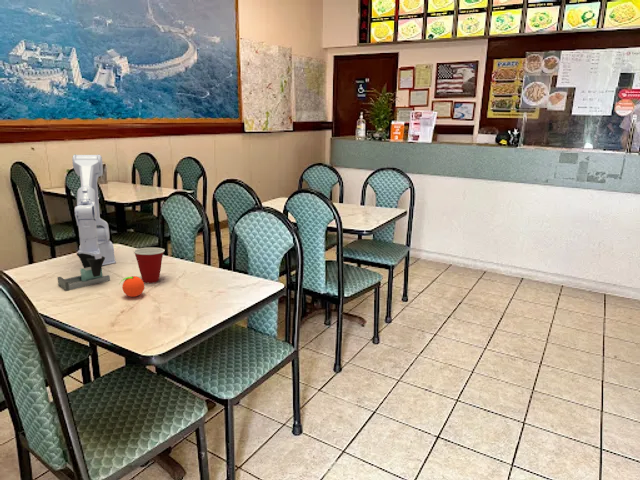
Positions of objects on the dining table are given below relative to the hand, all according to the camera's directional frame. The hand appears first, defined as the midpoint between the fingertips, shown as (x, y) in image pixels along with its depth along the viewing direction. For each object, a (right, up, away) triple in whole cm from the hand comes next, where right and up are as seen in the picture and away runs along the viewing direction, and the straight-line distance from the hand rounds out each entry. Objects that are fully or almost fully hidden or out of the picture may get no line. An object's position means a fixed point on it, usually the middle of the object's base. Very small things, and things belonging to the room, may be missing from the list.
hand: (92, 273), depth 165 cm
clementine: (+20, -7, -12) cm, 24 cm away
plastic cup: (+20, -3, +3) cm, 21 cm away
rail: (-2, -3, -1) cm, 4 cm away
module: (0, -3, +1) cm, 3 cm away
